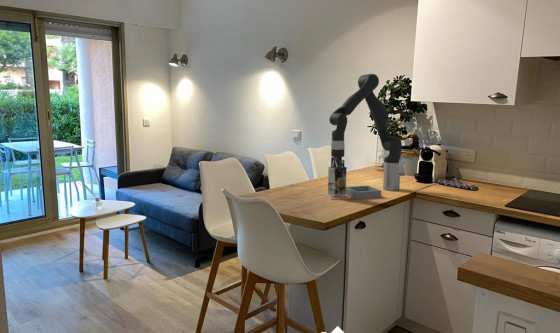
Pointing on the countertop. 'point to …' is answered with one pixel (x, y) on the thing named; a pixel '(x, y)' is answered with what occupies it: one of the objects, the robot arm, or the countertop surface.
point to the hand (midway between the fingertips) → (337, 176)
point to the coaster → (337, 197)
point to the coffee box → (336, 181)
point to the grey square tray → (363, 192)
